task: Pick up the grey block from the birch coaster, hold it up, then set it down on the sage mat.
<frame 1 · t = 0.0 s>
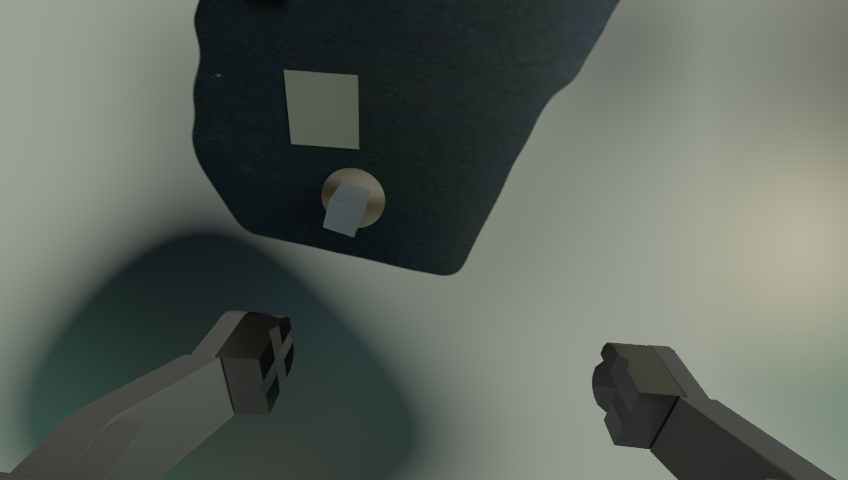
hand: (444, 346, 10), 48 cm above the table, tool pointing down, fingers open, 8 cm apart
sage mat: (323, 111, 54), on the table
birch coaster: (353, 198, 60), on the table
grey block: (353, 199, 60), resting on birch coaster
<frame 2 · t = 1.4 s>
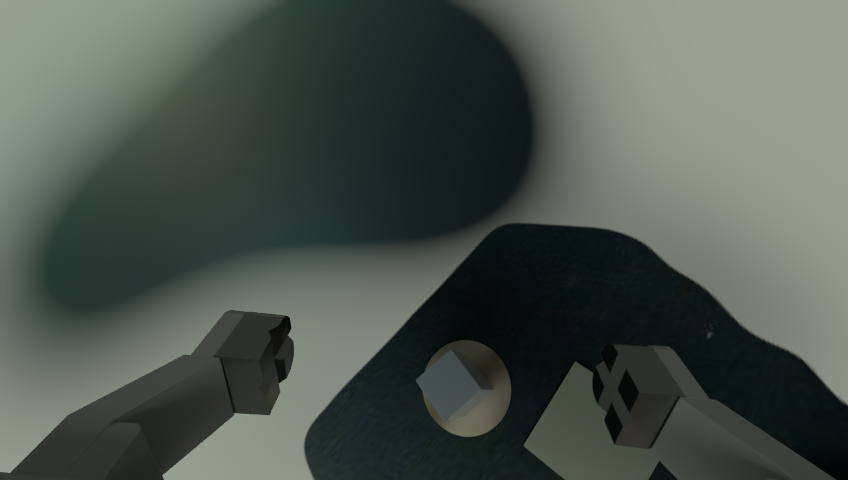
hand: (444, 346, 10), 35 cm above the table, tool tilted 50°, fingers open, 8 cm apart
sage mat: (596, 437, 37), on the table
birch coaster: (465, 386, 43), on the table
grey block: (465, 386, 42), resting on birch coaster
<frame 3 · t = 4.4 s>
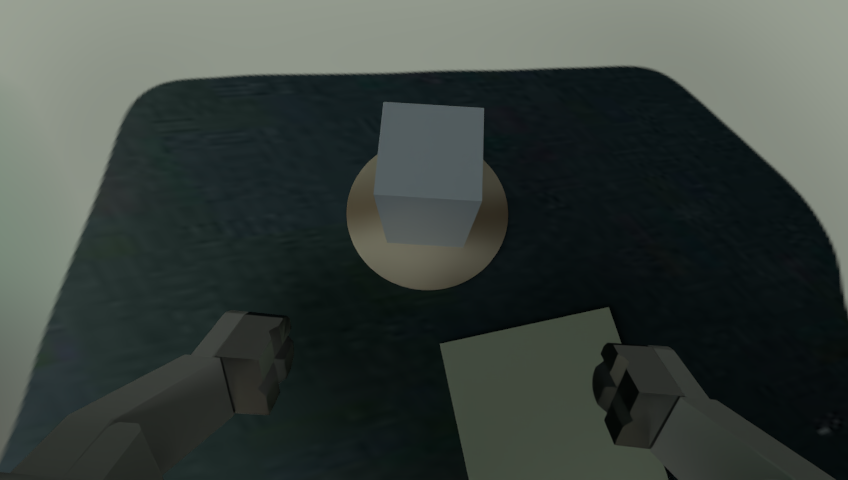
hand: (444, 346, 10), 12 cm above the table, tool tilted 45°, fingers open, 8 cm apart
sage mat: (550, 418, 21), on the table
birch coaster: (427, 210, 24), on the table
grey block: (427, 209, 24), resting on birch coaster
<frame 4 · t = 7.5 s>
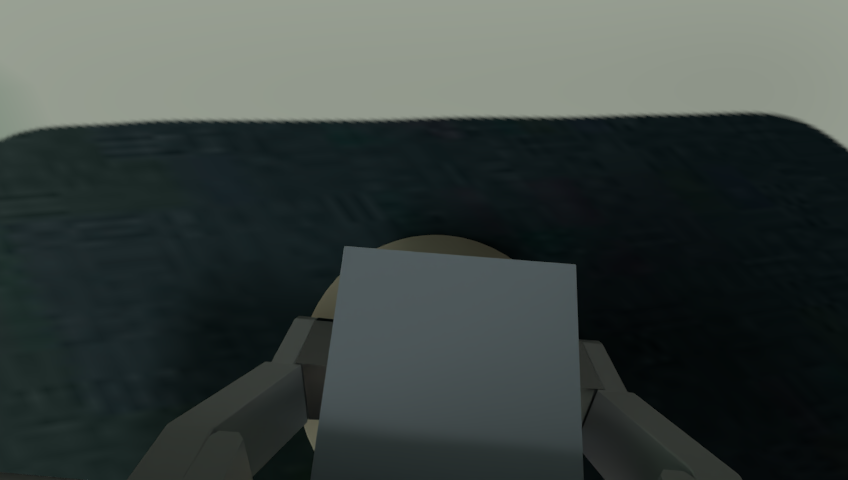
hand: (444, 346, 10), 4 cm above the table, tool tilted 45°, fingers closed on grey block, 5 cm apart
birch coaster: (436, 366, 14), on the table
grey block: (436, 366, 14), resting on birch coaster, touching gripper
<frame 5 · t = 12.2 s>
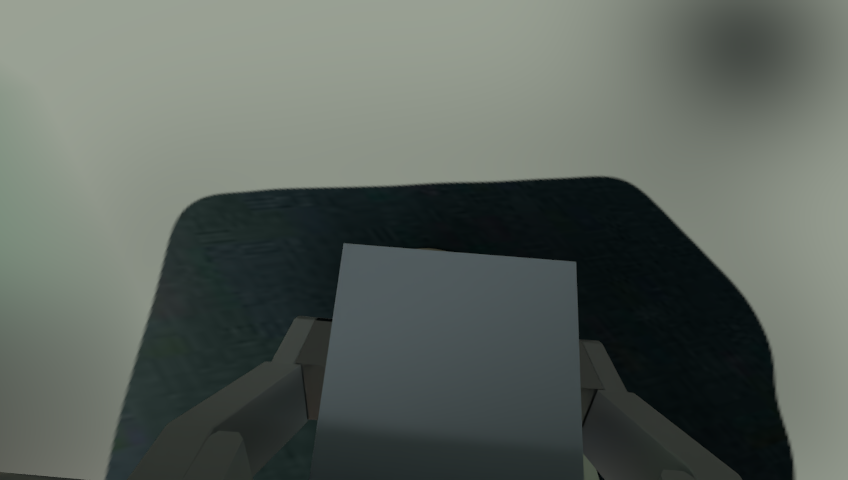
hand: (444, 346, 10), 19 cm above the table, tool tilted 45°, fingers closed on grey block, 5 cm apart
grey block: (436, 365, 14), point 15 cm above the table, touching gripper
when the fingers open (6 cm above the table, at t = 16.8 s): grey block drops 2 cm, resting on sage mat.
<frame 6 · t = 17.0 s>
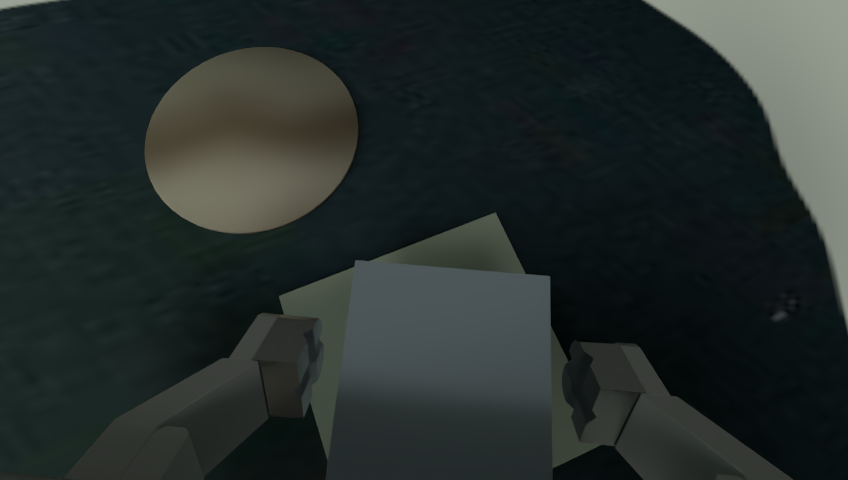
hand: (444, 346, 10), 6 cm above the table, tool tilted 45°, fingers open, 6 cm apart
sage mat: (435, 365, 15), on the table
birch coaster: (254, 134, 18), on the table
grey block: (434, 363, 15), resting on sage mat
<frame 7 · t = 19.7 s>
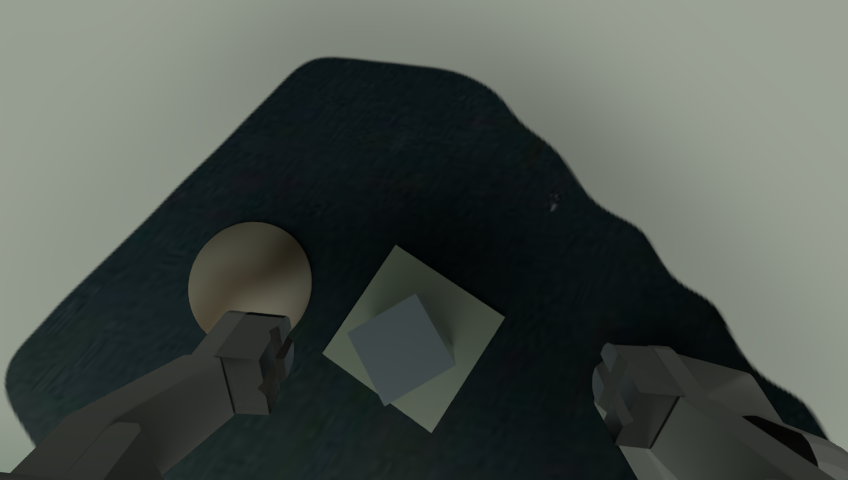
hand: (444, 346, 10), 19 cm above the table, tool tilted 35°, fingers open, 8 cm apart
sage mat: (413, 335, 29), on the table
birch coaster: (250, 284, 31), on the table
grey block: (412, 335, 29), resting on sage mat
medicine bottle: (659, 419, 28), on the table
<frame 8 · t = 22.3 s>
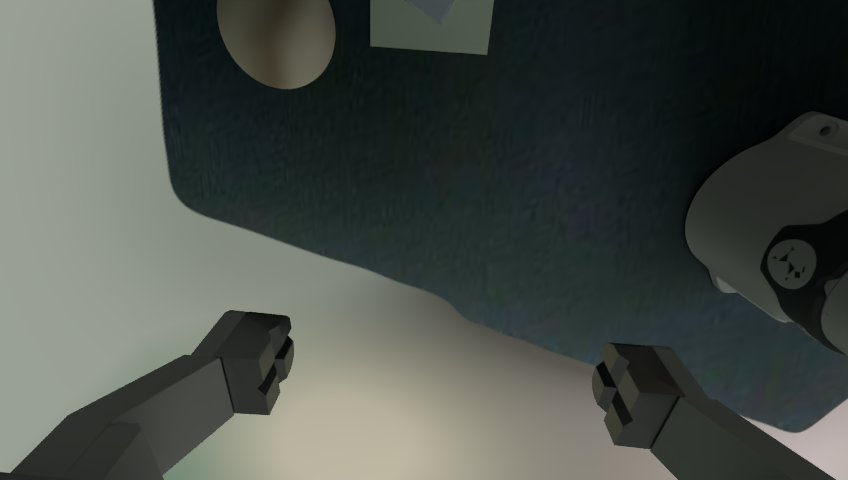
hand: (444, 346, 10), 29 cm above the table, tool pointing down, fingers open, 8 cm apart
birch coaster: (277, 26, 33), on the table
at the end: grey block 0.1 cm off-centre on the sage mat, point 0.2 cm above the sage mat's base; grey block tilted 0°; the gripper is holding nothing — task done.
